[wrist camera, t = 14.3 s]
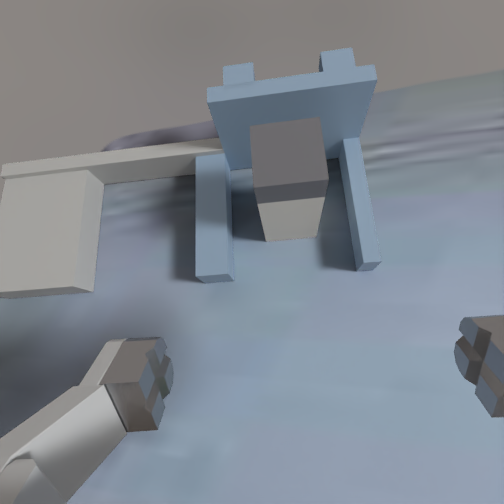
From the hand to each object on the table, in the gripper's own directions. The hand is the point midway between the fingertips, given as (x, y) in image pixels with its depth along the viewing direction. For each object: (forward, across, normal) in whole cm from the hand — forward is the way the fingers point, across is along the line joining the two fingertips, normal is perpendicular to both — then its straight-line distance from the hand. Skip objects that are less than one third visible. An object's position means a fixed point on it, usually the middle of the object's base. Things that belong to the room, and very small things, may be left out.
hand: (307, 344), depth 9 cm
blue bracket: (+19, 0, +2) cm, 19 cm away
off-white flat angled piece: (+18, +14, +3) cm, 23 cm away
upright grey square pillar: (+18, 0, +3) cm, 18 cm away
